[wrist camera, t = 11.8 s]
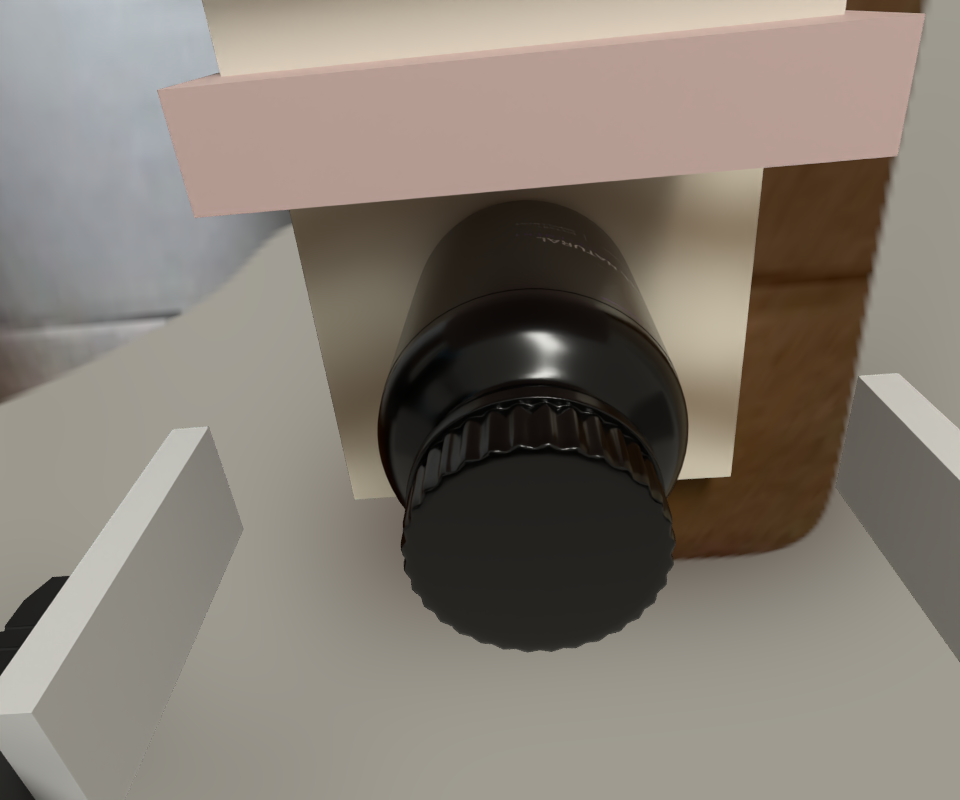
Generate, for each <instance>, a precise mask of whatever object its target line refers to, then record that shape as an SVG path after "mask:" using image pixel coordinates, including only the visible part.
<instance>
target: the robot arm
mask: <svg viewBox="0 0 960 800" xmlns="http://www.w3.org/2000/svg"><path fill="white" fill-rule="evenodd" d="M836 489H837V490H838V491H839V493H840V494H841V496H842V497H843V498H844V500H845V501H846V503H847V504H848V506H849V507H850V508H851V510H852V511H853V513H854V514H855V515H856V517H857V518H858V519H859V521H860V522H861V524H862V525H863V527H864V528H865V529H866V531H867V532H868V534H869V535H870V537H871V538H872V539H873V541H874V542H875V544H876V545H877V546H878V548H879V549H880V550H881V552H882V553H883V555H884V556H885V557H886V559H887V560H888V562H889V563H890V565H891V566H892V567H893V569H894V570H895V572H896V573H897V575H898V576H899V577H900V579H901V580H902V581H903V583H904V584H905V586H906V587H907V589H908V590H909V591H910V593H911V594H912V596H913V597H914V598H915V600H916V601H917V603H918V604H919V605H920V607H921V608H922V610H923V611H924V613H925V614H926V615H927V617H928V618H929V620H930V621H931V622H932V624H933V625H934V627H935V628H936V629H937V631H938V632H939V634H940V635H941V636H942V638H943V639H944V641H945V642H946V644H947V645H948V646H949V648H950V649H951V651H952V652H953V653H954V655H955V656H956V657H957V659H958V660H959V662H960V430H959V429H958V428H957V427H956V426H955V425H954V424H953V423H952V422H951V421H950V420H948V419H947V418H946V417H945V416H944V415H943V414H942V413H941V412H940V411H939V410H938V409H937V408H935V407H934V406H933V405H932V404H931V403H930V402H929V401H928V400H927V399H926V398H925V397H924V396H922V395H921V394H920V393H919V392H918V391H917V390H916V389H915V388H914V387H913V386H912V385H910V384H909V383H908V382H907V381H906V380H905V379H904V378H903V377H902V376H901V375H900V374H899V373H891V374H879V375H866V376H858V380H857V385H856V390H855V395H854V400H853V405H852V410H851V414H850V419H849V424H848V429H847V434H846V439H845V444H844V448H843V453H842V458H841V463H840V468H839V473H838V477H837V482H836ZM242 531H243V526H242V523H241V520H240V517H239V515H238V511H237V509H236V505H235V502H234V499H233V497H232V494H231V491H230V488H229V485H228V482H227V479H226V476H225V473H224V470H223V467H222V464H221V461H220V458H219V455H218V452H217V449H216V447H215V444H214V440H213V438H212V435H211V432H210V429H209V427H196V428H183V429H173V430H172V431H171V432H170V434H169V435H168V437H167V438H166V439H165V441H164V442H163V444H162V445H161V447H160V448H159V449H158V451H157V452H156V454H155V455H154V457H153V458H152V459H151V461H150V462H149V464H148V465H147V467H146V468H145V469H144V471H143V472H142V474H141V475H140V477H139V478H138V480H137V481H136V482H135V484H134V485H133V487H132V488H131V490H130V491H129V492H128V494H127V495H126V497H125V498H124V500H123V501H122V502H121V504H120V505H119V507H118V508H117V510H116V511H115V512H114V514H113V515H112V517H111V518H110V520H109V521H108V523H107V524H106V525H105V527H104V528H103V530H102V531H101V533H100V534H99V535H98V537H97V538H96V540H95V541H94V543H93V544H92V545H91V547H90V549H89V550H88V551H87V553H86V554H85V556H84V557H83V558H82V560H81V561H80V563H79V564H78V566H77V567H76V568H75V570H74V571H73V573H72V574H71V576H62V577H52V578H51V579H50V580H48V581H47V582H46V583H45V584H44V585H42V586H41V587H40V588H39V589H37V590H36V591H35V592H34V593H33V594H31V595H30V596H29V597H28V598H27V599H25V600H24V601H23V603H22V604H21V605H20V607H19V608H18V609H17V611H16V612H15V613H14V615H13V616H12V617H11V619H10V620H9V621H8V623H7V624H6V625H5V631H3V632H0V800H125V798H126V796H127V794H128V792H129V789H130V787H131V785H132V782H133V780H134V778H135V776H136V773H137V771H138V768H139V766H140V764H141V762H142V760H143V757H144V755H145V753H146V750H147V748H148V746H149V744H150V741H151V739H152V737H153V734H154V732H155V730H156V728H157V725H158V723H159V721H160V718H161V716H162V714H163V712H164V709H165V707H166V705H167V702H168V700H169V698H170V696H171V693H172V691H173V689H174V686H175V684H176V682H177V680H178V677H179V675H180V673H181V671H182V668H183V666H184V664H185V661H186V659H187V657H188V655H189V652H190V650H191V648H192V645H193V643H194V641H195V638H196V636H197V634H198V632H199V629H200V627H201V625H202V623H203V620H204V618H205V615H206V613H207V611H208V609H209V607H210V604H211V602H212V600H213V597H214V595H215V593H216V591H217V588H218V586H219V584H220V581H221V579H222V577H223V575H224V572H225V570H226V568H227V565H228V563H229V561H230V558H231V556H232V554H233V552H234V549H235V547H236V545H237V543H238V540H239V538H240V536H241V534H242Z"/></svg>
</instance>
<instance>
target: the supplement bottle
mask: <svg viewBox="0 0 960 800" xmlns="http://www.w3.org/2000/svg"><path fill="white" fill-rule="evenodd" d="M688 430H689V422H688V411H687V406H686V401H685V397H684V393H683V390H682V387H681V384H680V381H679V378H678V375H677V373H676V370H675V368H674V366H673V364H672V361H671V359H670V357H669V355H668V353H667V350H666V348H665V346H664V344H663V342H662V339H661V337H660V335H659V333H658V330H657V328H656V326H655V324H654V322H653V319H652V317H651V315H650V313H649V311H648V308H647V306H646V304H645V302H644V299H643V297H642V295H641V293H640V291H639V288H638V286H637V284H636V282H635V280H634V277H633V275H632V273H631V271H630V269H629V267H628V265H627V263H626V261H625V259H624V257H623V255H622V254H621V252H620V250H619V249H618V247H617V246H616V244H615V243H614V242H613V241H612V239H611V238H610V237H609V236H608V235H607V234H606V233H605V232H604V231H603V229H601V228H600V227H599V226H598V225H597V224H596V223H594V222H593V221H591V220H590V219H589V218H587V217H586V216H584V215H582V214H580V213H578V212H577V211H574V210H572V209H570V208H567V207H565V206H561V205H558V204H555V203H550V202H545V201H535V200H519V201H509V202H504V203H499V204H496V205H493V206H489V207H487V208H484V209H482V210H479V211H477V212H475V213H474V214H472V215H470V216H468V217H466V218H465V219H464V220H462V221H461V222H459V223H458V224H457V225H455V226H454V227H453V228H452V229H451V230H450V231H449V232H448V233H447V234H446V235H445V236H444V237H443V238H442V239H441V240H440V242H439V243H438V244H437V245H436V247H435V248H434V250H433V252H432V253H431V255H430V256H429V258H428V260H427V262H426V264H425V266H424V269H423V271H422V274H421V276H420V279H419V282H418V284H417V287H416V290H415V293H414V296H413V299H412V303H411V306H410V309H409V312H408V315H407V318H406V321H405V324H404V327H403V330H402V333H401V336H400V339H399V343H398V346H397V349H396V352H395V355H394V358H393V361H392V364H391V367H390V370H389V373H388V376H387V380H386V383H385V386H384V390H383V394H382V398H381V403H380V407H379V414H378V422H377V438H378V448H379V453H380V458H381V463H382V466H383V469H384V472H385V475H386V477H387V479H388V481H389V484H390V486H391V488H392V490H393V492H394V493H395V495H396V497H397V498H398V500H399V502H400V503H401V504H402V506H403V507H404V508H405V514H404V519H403V534H402V539H401V551H402V553H403V556H404V557H405V559H404V571H405V572H406V574H407V575H408V576H409V578H410V579H411V585H412V590H413V591H414V592H415V593H416V594H418V595H419V596H420V597H421V598H422V602H423V605H424V607H426V608H427V609H429V610H431V611H433V612H434V613H435V614H436V616H437V617H438V619H439V620H440V622H443V623H445V624H448V625H450V626H453V628H454V629H455V630H456V631H457V632H458V633H459V634H463V635H467V636H471V637H473V638H474V639H475V640H477V641H478V642H480V643H485V644H493V645H495V646H497V647H499V648H501V649H518V650H521V651H524V652H533V651H538V650H544V651H550V652H552V651H556V650H559V649H562V648H577V647H579V646H581V645H583V644H585V643H588V642H597V641H600V640H601V639H603V638H604V637H605V636H607V635H608V634H612V633H616V632H619V631H621V630H622V629H623V628H624V627H625V625H626V624H627V623H629V622H631V621H634V620H636V619H639V618H640V616H641V615H642V612H643V611H644V609H645V608H647V607H649V606H650V605H652V604H653V603H655V600H656V597H657V593H658V592H659V591H660V590H661V589H662V588H664V587H665V585H666V582H667V573H668V572H669V571H670V570H671V568H672V566H673V565H674V561H673V555H672V551H673V550H674V547H675V544H676V540H675V534H674V531H673V528H672V515H671V512H670V508H669V505H668V502H667V498H668V496H669V495H670V493H671V491H672V489H673V487H674V486H675V484H676V482H677V479H678V477H679V474H680V472H681V469H682V466H683V463H684V459H685V456H686V451H687V444H688Z"/></svg>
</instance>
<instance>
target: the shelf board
mask: <svg viewBox="0 0 960 800" xmlns="http://www.w3.org/2000/svg"><path fill="white" fill-rule="evenodd" d="M762 176H763V168H755V169H744V170H732V171H721V172H710V173H698V174H687V175H675V176H664V177H653V178H641V179H630V180H619V181H607V182H596V183H584V184H573V185H562V186H550V187H539V188H528V189H516V190H505V191H494V192H482V193H471V194H459V195H448V196H437V197H425V198H414V199H403V200H391V201H380V202H369V203H357V204H346V205H334V206H323V207H312V208H300V209H289V211H290V216H291V220H292V225H293V229H294V234H295V238H296V242H297V247H298V251H299V256H300V260H301V265H302V269H303V273H304V278H305V282H306V287H307V291H308V295H309V300H310V304H311V309H312V313H313V318H314V322H315V327H316V331H317V336H318V340H319V344H320V349H321V353H322V358H323V362H324V367H325V371H326V376H327V380H328V384H329V389H330V393H331V398H332V402H333V407H334V411H335V416H336V420H337V424H338V429H339V433H340V437H341V442H342V447H343V451H344V455H345V459H346V464H347V469H348V473H349V478H350V482H351V487H352V491H353V496H354V499H355V500H360V499H376V498H391V497H396V495H395V493H394V492H393V490H392V488H391V486H390V484H389V481H388V479H387V477H386V475H385V472H384V469H383V466H382V463H381V458H380V453H379V448H378V438H377V422H378V414H379V407H380V403H381V398H382V394H383V390H384V386H385V383H386V380H387V376H388V373H389V370H390V367H391V364H392V361H393V358H394V355H395V352H396V349H397V346H398V343H399V339H400V336H401V333H402V330H403V327H404V324H405V321H406V318H407V315H408V312H409V309H410V306H411V303H412V299H413V296H414V293H415V290H416V287H417V284H418V282H419V279H420V276H421V274H422V271H423V269H424V266H425V264H426V262H427V260H428V258H429V256H430V255H431V253H432V252H433V250H434V248H435V247H436V245H437V244H438V243H439V242H440V240H441V239H442V238H443V237H444V236H445V235H446V234H447V233H448V232H449V231H450V230H451V229H452V228H453V227H454V226H455V225H457V224H458V223H459V222H461V221H462V220H464V219H465V218H466V217H468V216H470V215H472V214H474V213H475V212H477V211H479V210H482V209H484V208H487V207H489V206H493V205H496V204H499V203H504V202H509V201H519V200H535V201H545V202H550V203H555V204H558V205H561V206H565V207H567V208H570V209H572V210H574V211H577V212H578V213H580V214H582V215H584V216H586V217H587V218H589V219H590V220H591V221H593V222H594V223H596V224H597V225H598V226H599V227H600V228H601V229H603V231H604V232H605V233H606V234H607V235H608V236H609V237H610V238H611V239H612V241H613V242H614V243H615V244H616V246H617V247H618V249H619V250H620V252H621V254H622V255H623V257H624V259H625V261H626V263H627V265H628V267H629V269H630V271H631V273H632V275H633V277H634V280H635V282H636V284H637V286H638V288H639V291H640V293H641V295H642V297H643V299H644V302H645V304H646V306H647V308H648V311H649V313H650V315H651V317H652V319H653V322H654V324H655V326H656V328H657V330H658V333H659V335H660V337H661V339H662V342H663V344H664V346H665V348H666V350H667V353H668V355H669V357H670V359H671V361H672V364H673V366H674V368H675V370H676V373H677V375H678V378H679V381H680V384H681V387H682V390H683V393H684V397H685V401H686V406H687V411H688V422H689V430H688V444H687V451H686V456H685V459H684V463H683V466H682V469H681V472H680V474H679V477H678V479H677V480H680V479H696V478H712V477H728V476H731V468H732V458H733V449H734V439H735V430H736V421H737V411H738V402H739V392H740V383H741V373H742V364H743V355H744V345H745V336H746V326H747V317H748V308H749V298H750V289H751V279H752V270H753V260H754V251H755V242H756V232H757V223H758V213H759V204H760V195H761V185H762Z"/></svg>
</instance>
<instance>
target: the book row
mask: <svg viewBox="0 0 960 800" xmlns="http://www.w3.org/2000/svg"><path fill="white" fill-rule="evenodd" d="M846 1H847V0H202V3H203V7H204V11H205V15H206V19H207V23H208V27H209V31H210V35H211V39H212V43H213V47H214V51H215V55H216V59H217V63H218V67H219V71H220V73H216V74H213V75H209V76H206V77H202V78H198V79H195V80H191V81H188V82H184V83H181V84H177V85H173V86H170V87H166V88H163V89H159V90H157V92H158V95H159V98H160V102H161V105H162V109H163V112H164V115H165V119H166V122H167V126H168V129H169V132H170V136H171V139H172V143H173V146H174V149H175V153H176V156H177V160H178V163H179V166H180V170H181V173H182V177H183V180H184V183H185V187H186V190H187V194H188V197H189V201H190V204H191V207H192V211H193V214H194V218H198V217H209V216H221V215H232V214H243V213H255V212H266V211H278V210H289V209H300V208H312V207H323V206H334V205H346V204H357V203H369V202H380V201H391V200H403V199H414V198H425V197H437V196H448V195H459V194H471V193H482V192H494V191H505V190H516V189H528V188H539V187H550V186H562V185H573V184H584V183H596V182H607V181H619V180H630V179H641V178H653V177H664V176H675V175H687V174H698V173H710V172H721V171H732V170H744V169H755V168H766V167H778V166H789V165H800V164H812V163H823V162H835V161H846V160H857V159H869V158H880V157H891V156H898V151H899V146H900V141H901V135H902V130H903V125H904V120H905V115H906V110H907V105H908V100H909V95H910V90H911V85H912V79H913V74H914V69H915V64H916V59H917V54H918V49H919V44H920V39H921V34H922V29H923V24H924V18H925V14H920V13H896V12H872V11H848V10H845V8H846Z"/></svg>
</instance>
